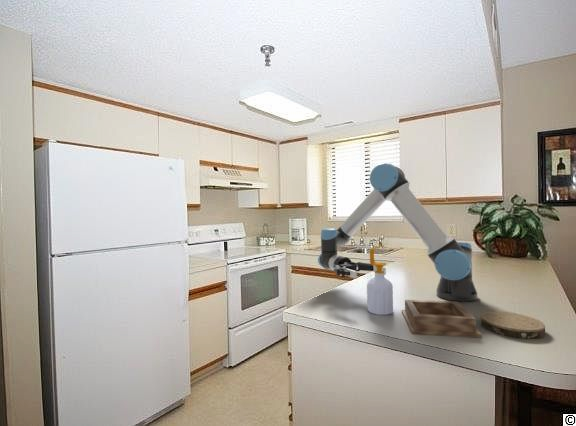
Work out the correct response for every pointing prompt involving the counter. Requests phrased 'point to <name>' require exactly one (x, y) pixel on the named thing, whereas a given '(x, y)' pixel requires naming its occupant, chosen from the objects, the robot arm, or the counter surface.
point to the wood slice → (513, 325)
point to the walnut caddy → (439, 318)
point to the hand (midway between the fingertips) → (370, 273)
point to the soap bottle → (379, 290)
